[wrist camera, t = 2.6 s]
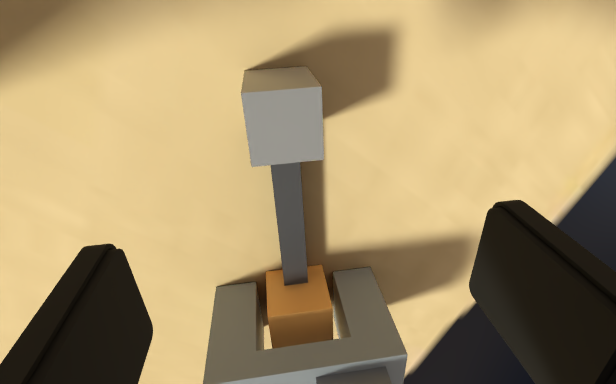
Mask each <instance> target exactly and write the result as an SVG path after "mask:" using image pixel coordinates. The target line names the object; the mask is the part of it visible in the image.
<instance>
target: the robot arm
mask: <svg viewBox="0 0 616 384" xmlns="http://www.w3.org/2000/svg"><path fill="white" fill-rule="evenodd" d="M469 288H470V292H471V294H472V296H473V298H474V299H475V300H476V302H477V303H478V305H479V306H480V307H481V309H482V310H483V312H484V313H485V314H486V316H487V317H488V319H489V320H490V321H491V323H492V324H493V325H494V327H495V328H496V330H497V331H498V332H499V334H500V335H501V336H502V338H503V339H504V341H505V342H506V343H507V345H508V346H509V348H510V349H511V350H512V352H513V353H514V355H515V356H516V357H517V359H518V360H519V361H520V363H521V364H522V366H523V367H524V368H525V370H526V371H527V373H528V374H529V375H530V377H531V378H532V380H533V381H534V382H535V384H616V272H615V271H614V270H612V269H611V268H610V267H609V266H607V265H606V264H605V263H603V262H602V261H601V260H599V259H598V258H597V257H595V256H594V255H593V254H591V253H590V252H589V251H588V250H586V249H585V248H584V247H582V246H581V245H580V244H578V243H577V242H576V241H574V240H573V239H572V238H571V237H569V236H568V235H567V234H565V233H564V232H563V231H561V230H560V229H559V228H558V227H556V226H555V225H554V224H552V223H551V222H550V221H548V220H547V219H546V218H544V217H543V216H542V215H541V214H539V213H538V212H537V211H535V210H534V209H533V208H531V207H530V206H529V205H527V204H526V203H525V202H523V201H521V200H512V201H503V202H497V203H495V204H494V206H493V208H491V209H489V211H488V212H487V216H486V220H485V223H484V227H483V231H482V235H481V239H480V243H479V247H478V251H477V255H476V259H475V262H474V266H473V270H472V274H471V278H470V282H469ZM152 335H153V326H152V322H151V320H150V317H149V315H148V312H147V309H146V307H145V304H144V302H143V299H142V297H141V294H140V292H139V289H138V287H137V284H136V281H135V279H134V276H133V274H132V271H131V269H130V266H129V264H128V261H127V259H126V256H125V253H124V252H123V250H122V249H116V247H115V246H114V245H113V244H102V245H93V246H86V247H83V248H82V249H81V251H80V252H79V253H78V255H77V256H76V258H75V259H74V261H73V262H72V263H71V265H70V266H69V268H68V269H67V270H66V272H65V273H64V275H63V276H62V278H61V279H60V280H59V282H58V283H57V285H56V286H55V288H54V289H53V290H52V292H51V293H50V295H49V296H48V297H47V299H46V300H45V302H44V303H43V305H42V306H41V307H40V309H39V310H38V312H37V313H36V314H35V316H34V317H33V319H32V320H31V322H30V323H29V324H28V326H27V327H26V329H25V330H24V331H23V333H22V334H21V336H20V337H19V339H18V340H17V341H16V343H15V344H14V346H13V347H12V349H11V350H10V351H9V353H8V354H7V356H6V357H5V358H4V360H3V361H2V363H1V364H0V384H138V382H139V378H140V375H141V372H142V369H143V366H144V362H145V359H146V356H147V353H148V350H149V346H150V343H151V340H152Z"/></svg>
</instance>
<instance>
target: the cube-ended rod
mask: <svg viewBox="0 0 616 384" xmlns="http://www.w3.org/2000/svg"><path fill="white" fill-rule="evenodd" d="M241 96H242V103H243V110H244V117H245V124H246V131H247V138H248V145H249V152H250V159H251V166H252V167H256V166H266V165H271V172H272V181H273V189H274V198H275V207H276V216H277V225H278V233H279V242H280V251H281V260H282V268H283V270H275V271H267V272H266V287H267V314H268V323H269V329H270V335H271V342H272V348H273V349H274V348H280V347H287V346H294V345H301V344H307V343H314V342H321V341H328V340H333V308H332V304H331V300H330V296H329V292H328V288H327V284H326V280H325V276H324V271H323V267H322V265H314V266H307V258H306V243H305V228H304V213H303V198H302V183H301V168H300V162H306V161H316V160H324V147H323V113H322V86H321V85H320V84H319V82H318V81H317V80H316V78H315V77H314V76H313V74H312V73H311V71H310V70H309V69H308V67H307V66H301V67H287V68H274V69H261V70H248V71H244V77H243V84H242V90H241Z"/></svg>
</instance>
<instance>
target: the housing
mask: <svg viewBox="0 0 616 384" xmlns="http://www.w3.org/2000/svg"><path fill="white" fill-rule="evenodd" d="M333 301H334V320H335V324H336V328H337V332H338V336H339V339H334V340H328V341H321V342H314V343H307V344H301V345H294V346H287V347H280V348H274V349H267V350H264V326H263V320H262V315H261V309H260V303H259V297H258V291H257V285H256V282H250V283H243V284H235V285H227V286H220V287H216V293H215V300H214V307H213V314H212V322H211V329H210V336H209V344H208V351H207V358H206V365H205V373H204V380H203V384H403V381H404V374H405V368H406V361H407V352H406V349H405V347H404V345H403V342H402V340H401V338H400V335H399V333H398V331H397V328H396V326H395V324H394V321H393V319H392V317H391V314H390V312H389V310H388V307H387V305H386V302H385V300H384V298H383V295H382V293H381V291H380V288H379V286H378V284H377V281H376V279H375V277H374V274H373V272H372V270H371V267H365V268H358V269H350V270H342V271H335V272H333Z"/></svg>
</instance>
